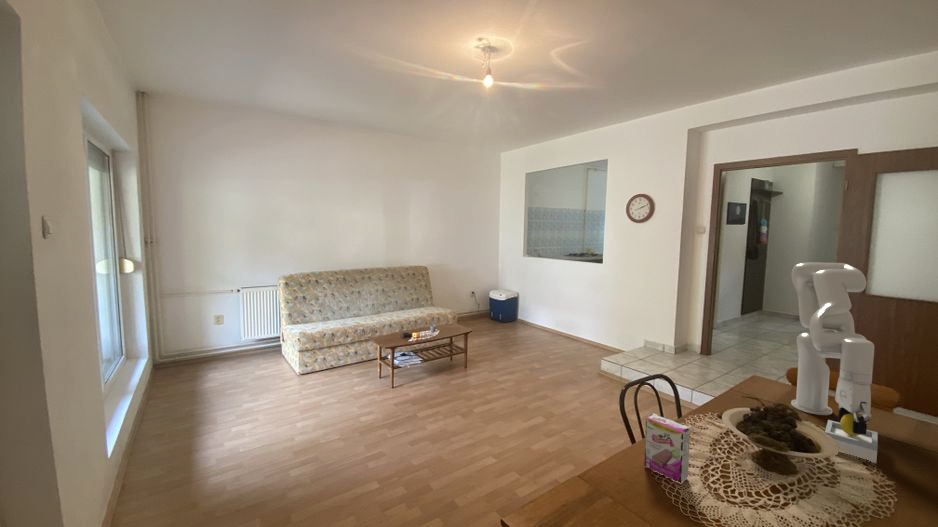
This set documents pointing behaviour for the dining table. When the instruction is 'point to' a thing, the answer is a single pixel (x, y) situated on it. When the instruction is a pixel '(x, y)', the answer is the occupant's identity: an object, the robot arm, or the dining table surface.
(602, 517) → the dining table surface
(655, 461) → the candy bar box
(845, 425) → the lemon
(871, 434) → the tray
